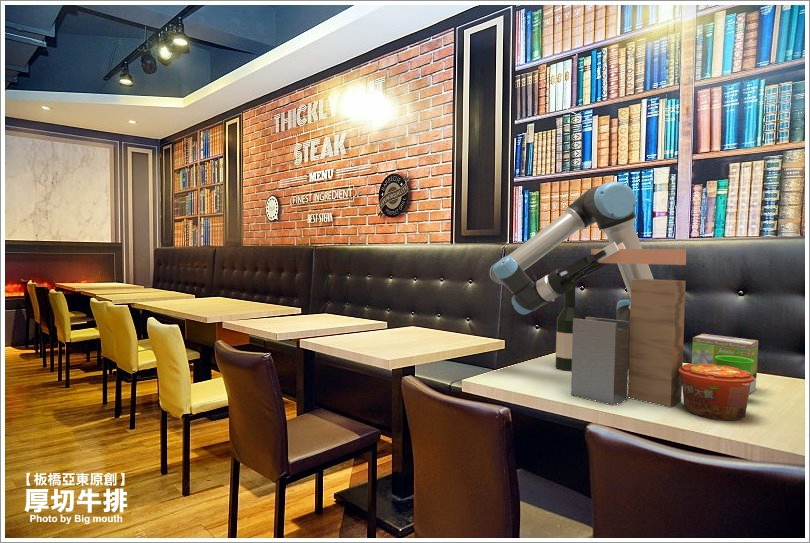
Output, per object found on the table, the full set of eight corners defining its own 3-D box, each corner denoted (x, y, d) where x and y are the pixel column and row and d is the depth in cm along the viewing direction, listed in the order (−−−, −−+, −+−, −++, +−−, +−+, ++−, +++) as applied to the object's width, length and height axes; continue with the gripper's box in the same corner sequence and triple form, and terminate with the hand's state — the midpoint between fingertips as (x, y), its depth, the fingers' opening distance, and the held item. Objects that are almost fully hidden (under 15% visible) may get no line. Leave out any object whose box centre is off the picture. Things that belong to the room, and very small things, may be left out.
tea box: (689, 385, 153) (691, 336, 152) (699, 379, 160) (701, 332, 160) (749, 395, 142) (751, 343, 142) (757, 389, 149) (759, 339, 149)
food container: (694, 399, 137) (696, 360, 137) (763, 415, 125) (765, 371, 124) (664, 409, 128) (666, 367, 128) (736, 428, 115) (738, 380, 115)
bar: (597, 262, 150) (598, 249, 150) (685, 264, 132) (686, 249, 132) (590, 262, 147) (591, 248, 147) (679, 264, 129) (680, 248, 129)
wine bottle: (550, 366, 176) (553, 279, 175) (573, 365, 178) (575, 279, 177) (562, 371, 168) (564, 280, 167) (585, 371, 170) (588, 280, 169)
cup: (759, 404, 133) (761, 363, 133) (721, 402, 135) (722, 361, 135) (743, 395, 142) (745, 356, 142) (708, 393, 144) (709, 354, 144)
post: (639, 393, 143) (643, 278, 142) (681, 402, 135) (685, 280, 133) (627, 397, 138) (631, 279, 137) (670, 407, 130) (674, 281, 129)
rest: (585, 390, 145) (587, 316, 144) (627, 400, 136) (629, 321, 135) (570, 395, 140) (573, 318, 139) (613, 405, 131) (615, 323, 130)
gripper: (574, 294, 163) (640, 258, 147) (544, 296, 151) (612, 258, 136) (564, 273, 165) (627, 236, 150) (534, 274, 154) (599, 233, 138)
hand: (620, 246), depth 143 cm, fingers closed on bar, 4 cm apart
